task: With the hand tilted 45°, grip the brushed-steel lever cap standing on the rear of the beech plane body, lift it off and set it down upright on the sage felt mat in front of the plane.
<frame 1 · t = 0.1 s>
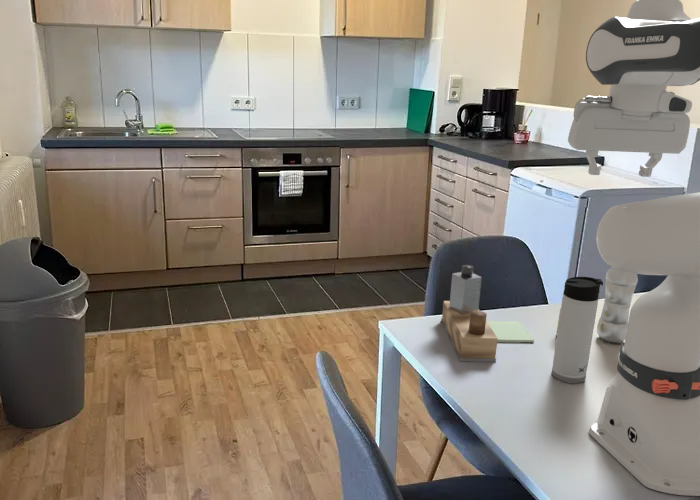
hand: (619, 175, 115), 39 cm above the table, tool pointing down, fingers open, 8 cm apart
plane body: (466, 339, 137), on the table
travel mug: (569, 377, 123), on the table
supplement bottle: (567, 336, 142), on the table
lever cap: (463, 309, 141), point 5 cm above the table, touching plane body
felt mat: (504, 332, 142), on the table
plastic bottle: (610, 340, 140), on the table
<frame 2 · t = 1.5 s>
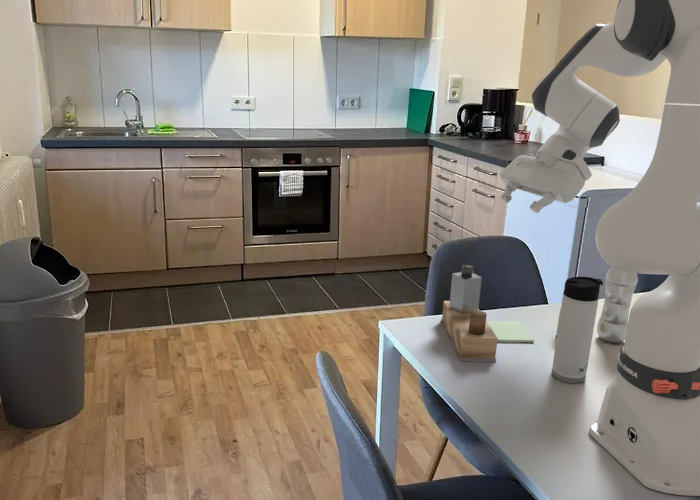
hand: (518, 205, 140), 28 cm above the table, tool tilted 45°, fingers open, 8 cm apart
nothing on the table moved.
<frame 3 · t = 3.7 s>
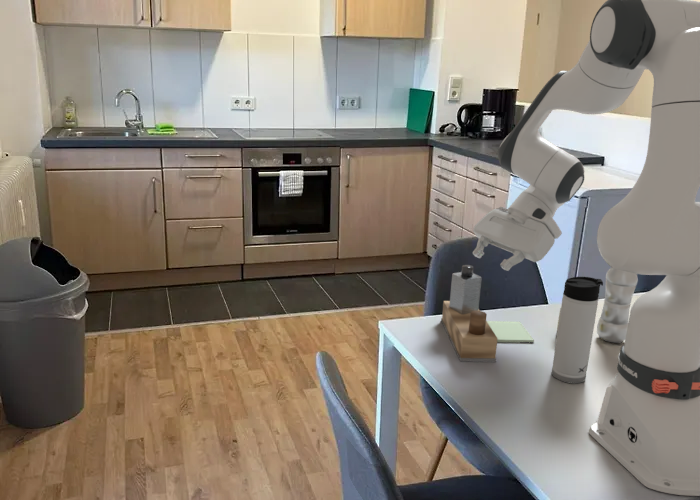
hand: (489, 262, 140), 15 cm above the table, tool tilted 45°, fingers open, 8 cm apart
nothing on the table moved.
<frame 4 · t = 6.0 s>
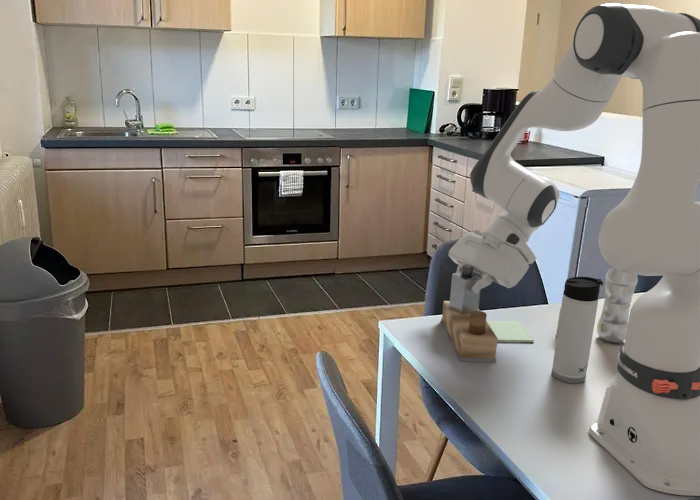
hand: (463, 287, 139), 10 cm above the table, tool tilted 45°, fingers closed on lever cap, 4 cm apart
lever cap: (463, 309, 141), point 5 cm above the table, touching gripper, plane body
everything else where it was.
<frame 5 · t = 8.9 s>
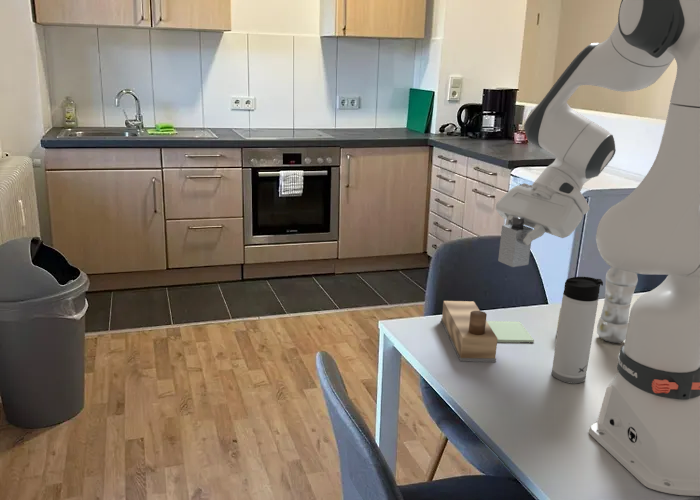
hand: (513, 239, 135), 22 cm above the table, tool tilted 45°, fingers closed on lever cap, 4 cm apart
lever cap: (513, 262, 137), point 16 cm above the table, touching gripper
everything else where it was.
when the fingers open (7 cm above the table, at t = 11.8 s): lever cap drops 1 cm, resting on felt mat.
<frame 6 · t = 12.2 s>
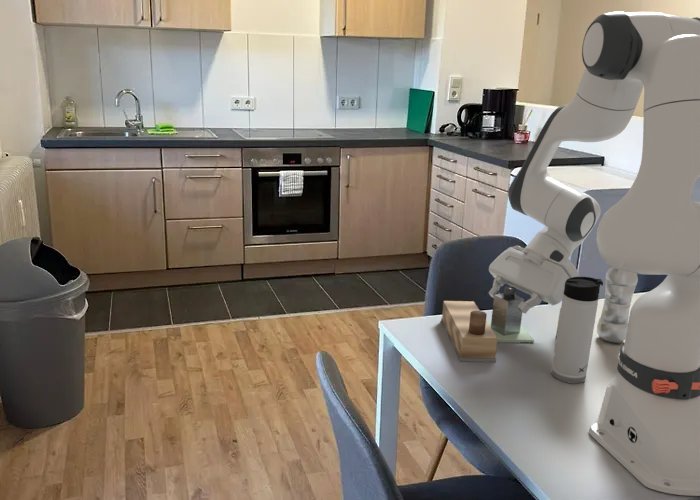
hand: (505, 303, 139), 7 cm above the table, tool tilted 45°, fingers open, 8 cm apart
lever cap: (505, 330, 142), point 1 cm above the table, touching felt mat
everything else where it was.
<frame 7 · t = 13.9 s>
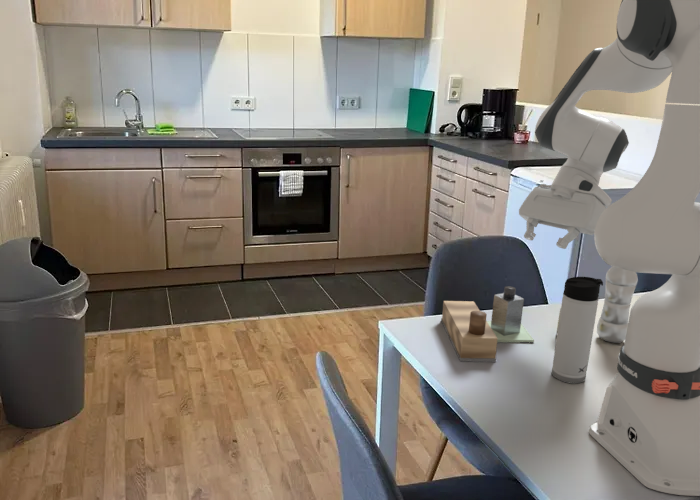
hand: (543, 243, 139), 20 cm above the table, tool tilted 35°, fingers open, 8 cm apart
nothing on the table moved.
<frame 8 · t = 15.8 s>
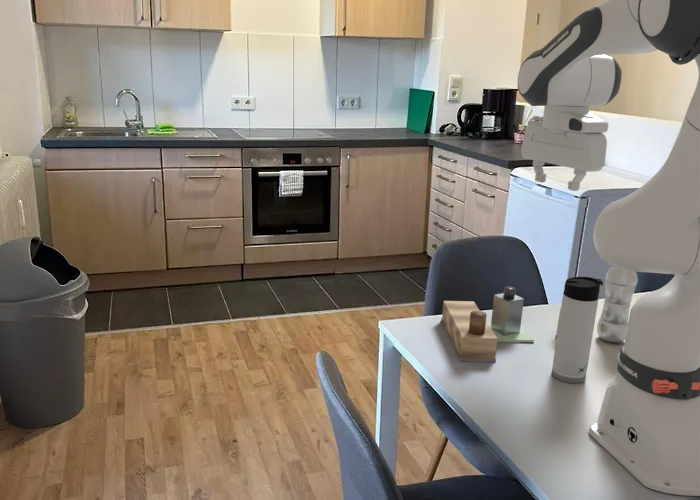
hand: (556, 185, 135), 33 cm above the table, tool pointing down, fingers open, 8 cm apart
nothing on the table moved.
at the end: lever cap inside the target area (0.1 cm from its centre), point 0.6 cm above the table; lever cap tilted 0°; lever cap touching felt mat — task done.
